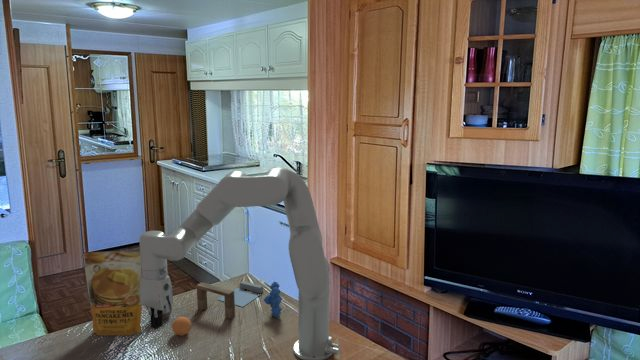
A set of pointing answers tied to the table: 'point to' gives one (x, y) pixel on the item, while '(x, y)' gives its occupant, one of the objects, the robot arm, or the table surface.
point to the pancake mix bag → (114, 291)
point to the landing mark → (241, 297)
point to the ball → (181, 326)
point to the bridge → (227, 293)
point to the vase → (167, 313)
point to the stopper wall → (251, 286)
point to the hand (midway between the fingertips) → (156, 326)
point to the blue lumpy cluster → (274, 299)
